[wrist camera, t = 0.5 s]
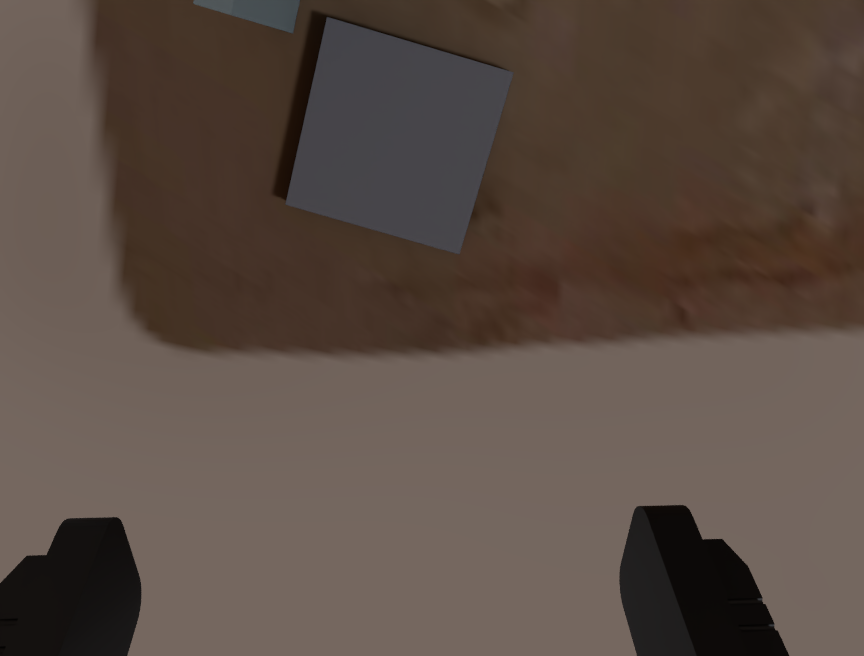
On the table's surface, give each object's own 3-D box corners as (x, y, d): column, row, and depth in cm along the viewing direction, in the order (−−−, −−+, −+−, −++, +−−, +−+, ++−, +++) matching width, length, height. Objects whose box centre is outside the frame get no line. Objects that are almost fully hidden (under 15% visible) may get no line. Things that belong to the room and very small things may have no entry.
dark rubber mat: (330, 18, 32) (326, 16, 32) (512, 72, 33) (513, 72, 32) (289, 202, 35) (285, 204, 34) (459, 250, 35) (459, 254, 34)
